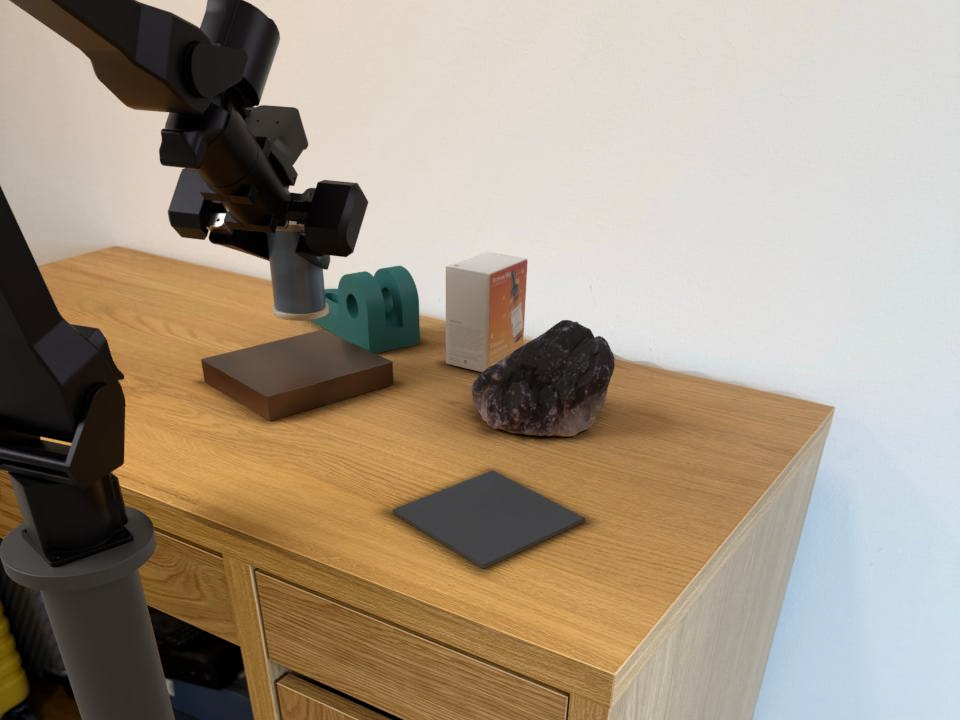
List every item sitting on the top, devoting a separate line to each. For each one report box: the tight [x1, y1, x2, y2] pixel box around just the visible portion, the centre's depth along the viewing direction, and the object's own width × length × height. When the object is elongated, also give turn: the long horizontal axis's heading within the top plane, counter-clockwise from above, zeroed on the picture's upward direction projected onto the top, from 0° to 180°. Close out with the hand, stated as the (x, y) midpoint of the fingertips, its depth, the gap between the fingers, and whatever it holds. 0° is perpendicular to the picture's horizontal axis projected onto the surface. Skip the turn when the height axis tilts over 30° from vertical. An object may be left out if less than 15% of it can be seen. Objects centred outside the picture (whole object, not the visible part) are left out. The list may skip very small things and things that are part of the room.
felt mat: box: [392, 470, 586, 570], centre depth 74 cm, size 11×11×1 cm
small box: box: [445, 250, 528, 373], centre depth 99 cm, size 8×6×10 cm
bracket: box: [310, 265, 421, 354], centre depth 108 cm, size 18×7×8 cm, turn 36°
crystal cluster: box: [471, 319, 616, 437], centre depth 88 cm, size 13×14×10 cm
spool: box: [266, 221, 329, 322], centre depth 91 cm, size 6×6×9 cm
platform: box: [200, 329, 394, 422], centre depth 95 cm, size 15×13×2 cm
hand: (303, 262), depth 92 cm, fingers closed on spool, 5 cm apart
